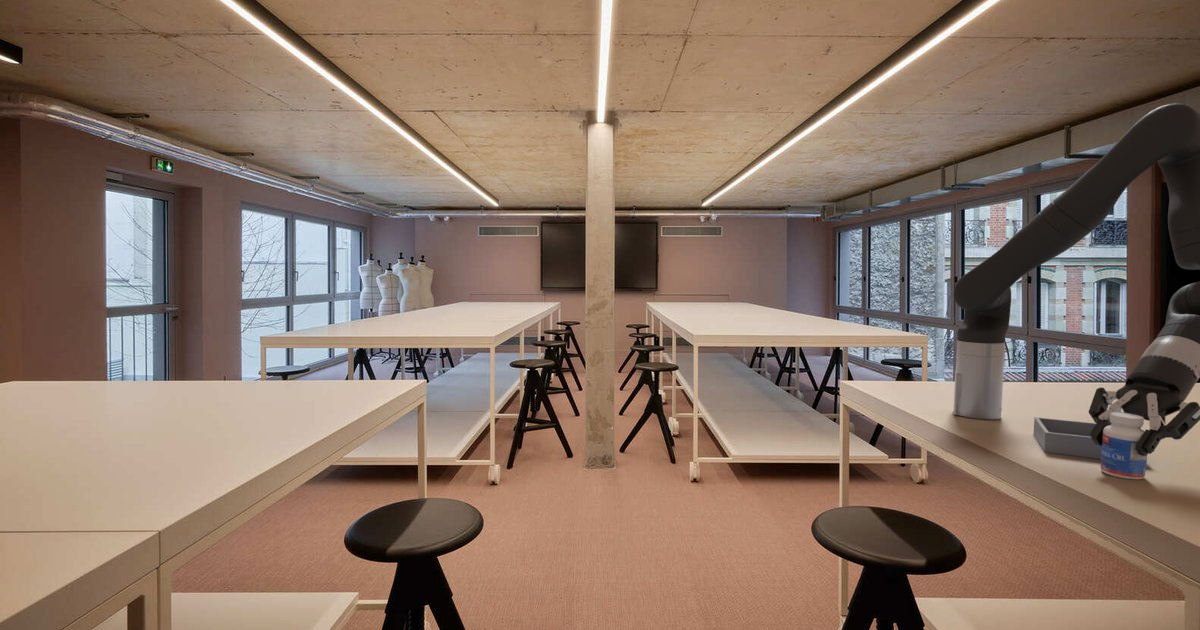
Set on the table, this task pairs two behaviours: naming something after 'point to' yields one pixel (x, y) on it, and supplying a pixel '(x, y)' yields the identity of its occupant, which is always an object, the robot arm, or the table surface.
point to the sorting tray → (1066, 437)
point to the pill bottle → (1123, 447)
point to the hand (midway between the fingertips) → (1117, 446)
